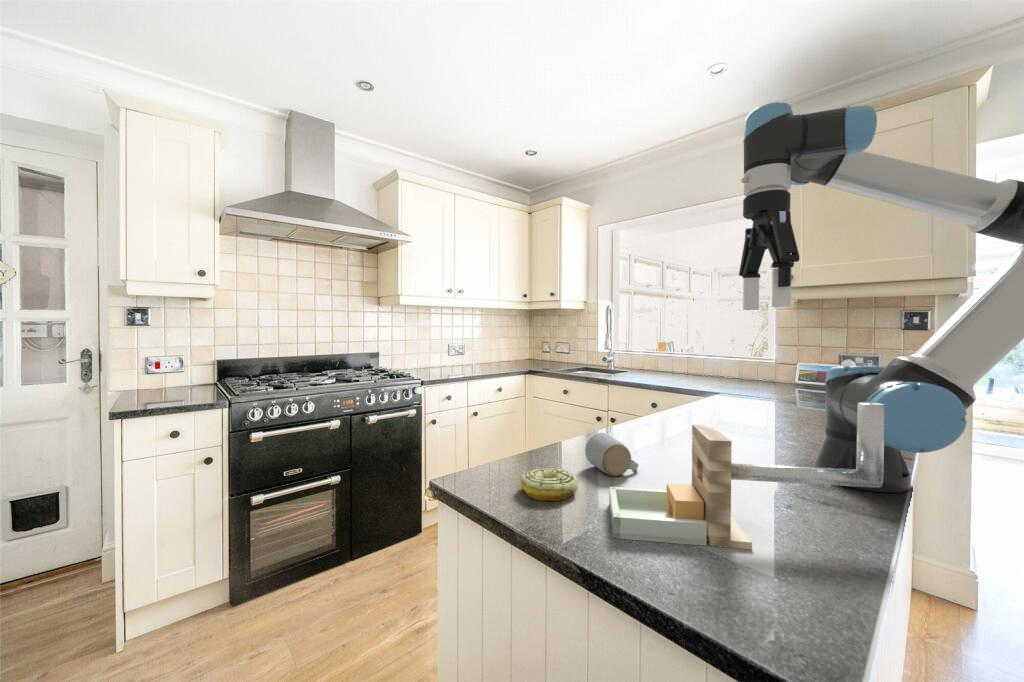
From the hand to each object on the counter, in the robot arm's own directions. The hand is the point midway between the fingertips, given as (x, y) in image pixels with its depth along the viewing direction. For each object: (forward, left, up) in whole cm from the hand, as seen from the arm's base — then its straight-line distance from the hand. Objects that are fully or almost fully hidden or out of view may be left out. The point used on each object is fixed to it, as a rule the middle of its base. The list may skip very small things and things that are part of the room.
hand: (764, 308), depth 78 cm
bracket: (+13, +17, -35) cm, 41 cm away
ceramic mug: (+27, -7, -35) cm, 45 cm away
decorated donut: (+40, +7, -35) cm, 54 cm away
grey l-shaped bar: (+2, +17, -27) cm, 32 cm away
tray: (+23, +17, -35) cm, 45 cm away
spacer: (+18, +17, -34) cm, 42 cm away
